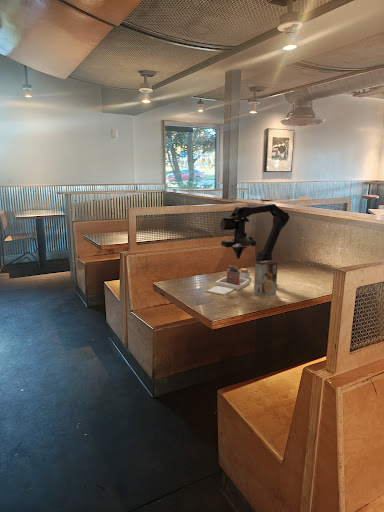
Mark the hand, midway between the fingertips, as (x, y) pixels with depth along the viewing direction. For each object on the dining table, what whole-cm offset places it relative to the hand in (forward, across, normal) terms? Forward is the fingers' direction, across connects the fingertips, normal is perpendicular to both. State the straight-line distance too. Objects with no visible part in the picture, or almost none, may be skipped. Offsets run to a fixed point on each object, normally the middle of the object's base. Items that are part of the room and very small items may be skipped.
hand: (237, 258), depth 195 cm
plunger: (+11, +7, +3) cm, 14 cm away
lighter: (+13, -4, -3) cm, 14 cm away
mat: (+13, -16, -10) cm, 23 cm away
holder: (+13, 0, 0) cm, 13 cm away
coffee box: (+13, +3, -22) cm, 26 cm away
